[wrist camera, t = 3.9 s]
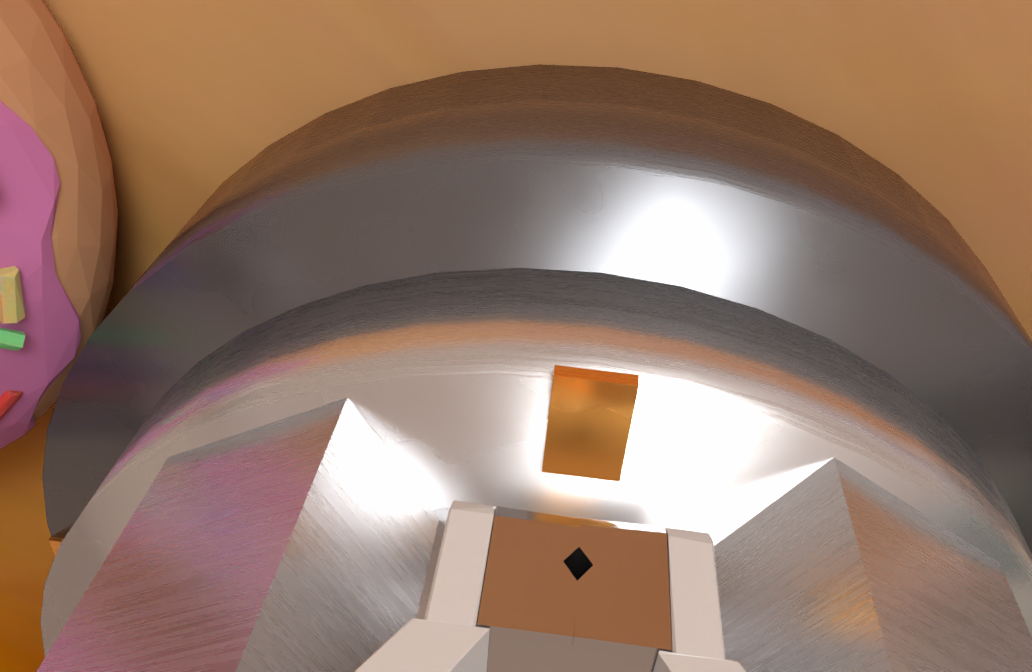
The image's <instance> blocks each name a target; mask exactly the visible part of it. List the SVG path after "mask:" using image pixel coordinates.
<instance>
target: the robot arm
mask: <svg viewBox="0 0 1032 672" xmlns="http://www.w3.org/2000/svg"><path fill="white" fill-rule="evenodd" d="M354 672H747V671H746V670H745V669H744V667H743V666H742V665H741V663H740V662H738V661H732V660H727V659H725V649H724V640H723V630H722V621H721V611H720V602H719V592H718V583H717V573H716V564H715V554H714V545H713V540H712V538H711V536H710V534H709V533H704V532H696V531H687V530H679V529H671V528H665V529H664V528H663V527H659V526H650V525H641V524H633V523H624V522H615V521H606V520H598V519H589V518H572V517H565V516H559V515H552V514H546V513H539V512H533V511H526V510H519V509H513V508H506V507H500V506H497V507H496V506H490V505H483V504H476V503H469V502H462V501H455V500H453V503H452V505H451V507H450V509H449V511H448V516H447V520H446V525H445V529H444V534H443V538H442V542H441V547H440V551H439V556H438V560H437V565H436V569H435V573H434V578H433V582H432V587H431V591H430V596H429V600H428V605H427V609H426V613H425V618H424V619H417V618H411V619H410V620H408V621H407V622H406V623H405V624H404V625H403V626H402V627H401V628H400V629H399V630H398V631H397V632H396V633H395V634H394V635H392V636H391V637H390V638H389V639H388V640H387V641H386V642H385V643H384V644H383V645H382V646H381V647H380V648H379V649H378V650H376V651H375V652H374V653H373V654H372V655H371V656H370V657H369V658H368V659H367V660H366V661H365V662H364V663H363V664H362V665H360V666H359V667H358V668H357V669H356V670H355V671H354Z"/></svg>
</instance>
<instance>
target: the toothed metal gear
mask: <svg viewBox="0 0 1032 672" xmlns="http://www.w3.org/2000/svg"><path fill="white" fill-rule="evenodd" d="M453 500H455V501H462V502H469V503H476V504H483V505H490V506H496V507H497V506H500V507H506V508H513V509H519V510H526V511H533V512H539V513H546V514H552V515H559V516H565V517H572V518H589V519H598V520H606V521H615V522H624V523H633V524H641V525H650V526H659V527H663V528H664V529H665V528H671V529H679V530H687V531H696V532H704V533H709V534H710V536H711V538H712V540H713V545H714V554H715V564H716V573H717V583H718V592H719V602H720V611H721V621H722V630H723V640H724V649H725V659H727V660H732V661H738V662H740V663H741V665H742V666H743V667H744V669H745V670H746V671H747V672H1032V554H1031V552H1030V550H1029V547H1028V545H1027V543H1026V541H1025V539H1024V537H1023V535H1022V533H1021V531H1020V528H1019V526H1018V524H1017V522H1016V520H1015V518H1014V516H1013V514H1012V512H1011V509H1010V507H1009V505H1008V503H1007V501H1006V500H1005V498H1004V497H1003V495H1002V493H1001V492H1000V490H999V488H998V487H997V485H996V483H995V482H994V480H993V479H992V477H991V475H990V474H989V472H988V470H987V469H986V467H985V465H984V464H983V462H982V461H981V459H980V458H979V457H978V456H977V454H976V453H975V452H974V451H973V450H972V449H971V448H970V447H969V446H968V444H967V443H966V442H965V441H964V440H963V439H962V438H961V437H960V436H959V434H958V433H957V432H956V431H955V430H954V429H953V428H952V427H951V426H950V424H949V423H948V422H947V421H946V420H945V419H944V418H943V417H942V416H941V415H940V414H939V413H938V412H936V411H935V410H934V409H933V408H931V407H930V406H929V405H928V404H926V403H925V402H924V401H923V400H921V399H920V398H919V397H918V396H916V395H915V394H914V393H913V392H911V391H910V390H909V389H908V388H906V387H905V386H904V385H903V384H901V383H900V382H899V381H898V380H896V379H895V378H894V377H893V376H891V375H890V374H888V373H887V372H885V371H883V370H881V369H880V368H878V367H876V366H875V365H873V364H871V363H870V362H868V361H866V360H864V359H863V358H861V357H859V356H858V355H856V354H854V353H853V352H851V351H849V350H847V349H846V348H844V347H842V346H841V345H839V344H837V343H836V342H834V341H832V340H830V339H828V338H826V337H824V336H821V335H819V334H817V333H814V332H812V331H810V330H807V329H805V328H803V327H800V326H798V325H796V324H793V323H791V322H789V321H786V320H784V319H781V318H779V317H777V316H774V315H772V314H770V313H767V312H765V311H763V310H760V309H758V308H754V307H751V306H747V305H744V304H740V303H737V302H733V301H730V300H727V299H723V298H720V297H716V296H713V295H709V294H706V293H703V292H699V291H696V290H692V289H689V288H685V287H682V286H676V285H670V284H665V283H659V282H653V281H647V280H641V279H635V278H629V277H624V276H618V275H612V274H606V273H600V272H583V271H566V270H548V269H531V268H505V269H487V270H469V271H451V272H437V273H432V274H426V275H420V276H414V277H409V278H403V279H397V280H391V281H386V282H380V283H374V284H368V285H364V286H361V287H357V288H354V289H351V290H348V291H344V292H341V293H338V294H335V295H332V296H328V297H325V298H322V299H319V300H315V301H312V302H309V303H306V304H302V305H299V306H297V307H295V308H293V309H291V310H289V311H286V312H284V313H282V314H280V315H278V316H276V317H274V318H271V319H269V320H267V321H265V322H263V323H261V324H259V325H257V326H254V327H252V328H250V329H248V330H246V331H244V332H242V333H240V334H239V335H237V336H236V337H234V338H233V339H232V340H230V341H229V342H227V343H226V344H224V345H223V346H221V347H220V348H218V349H217V350H215V351H214V352H212V353H211V354H209V355H208V356H206V357H205V358H203V359H202V360H200V361H199V362H197V363H196V364H195V365H194V366H193V367H192V368H191V369H190V370H189V371H188V372H187V373H186V374H185V375H184V376H183V377H181V378H180V379H179V380H178V381H177V382H176V383H175V384H174V385H173V386H172V387H171V388H170V389H169V390H168V391H167V392H166V393H165V394H164V395H163V396H162V397H161V398H160V399H159V400H158V402H157V403H156V405H155V406H154V408H153V409H152V410H151V412H150V413H149V415H148V416H147V418H146V419H145V421H144V422H143V423H142V425H141V426H140V428H139V429H138V431H137V432H136V433H135V435H134V436H133V438H132V439H131V441H130V442H129V444H128V445H127V447H126V448H125V450H124V451H123V453H122V454H121V456H120V457H119V458H118V460H117V461H116V463H115V464H114V466H113V467H112V469H111V470H110V472H109V473H108V475H107V476H106V478H105V479H104V481H103V482H102V483H101V485H100V486H99V488H98V489H97V491H96V492H95V494H94V495H93V497H92V498H91V500H90V501H89V503H88V504H87V506H86V507H85V509H84V510H83V511H82V513H81V514H80V516H79V517H78V519H77V520H76V522H75V523H74V525H73V526H72V528H71V529H70V531H69V532H68V534H67V535H66V536H65V538H64V539H63V541H62V542H61V544H60V545H59V548H58V551H57V553H56V556H55V558H54V561H53V564H52V566H51V569H50V571H49V574H48V577H47V579H46V582H45V587H44V595H43V604H42V613H41V621H40V622H41V630H42V638H43V646H44V654H45V658H44V660H43V662H42V663H41V665H40V667H39V668H38V670H37V671H36V672H354V671H355V670H356V669H357V668H358V667H359V666H360V665H362V664H363V663H364V662H365V661H366V660H367V659H368V658H369V657H370V656H371V655H372V654H373V653H374V652H375V651H376V650H378V649H379V648H380V647H381V646H382V645H383V644H384V643H385V642H386V641H387V640H388V639H389V638H390V637H391V636H392V635H394V634H395V633H396V632H397V631H398V630H399V629H400V628H401V627H402V626H403V625H404V624H405V623H406V622H407V621H408V620H410V619H411V618H417V619H424V618H425V613H426V609H427V605H428V600H429V596H430V591H431V587H432V582H433V578H434V573H435V569H436V565H437V560H438V556H439V551H440V547H441V542H442V538H443V534H444V529H445V525H446V520H447V516H448V511H449V509H450V507H451V505H452V503H453Z"/></svg>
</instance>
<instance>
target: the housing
mask: <svg viewBox="0 0 1032 672" xmlns="http://www.w3.org/2000/svg"><path fill="white" fill-rule="evenodd" d="M505 268H531V269H548V270H566V271H583V272H600V273H606V274H612V275H618V276H624V277H629V278H635V279H641V280H647V281H653V282H659V283H665V284H670V285H676V286H682V287H685V288H689V289H692V290H696V291H699V292H703V293H706V294H709V295H713V296H716V297H720V298H723V299H727V300H730V301H733V302H737V303H740V304H744V305H747V306H751V307H754V308H758V309H760V310H763V311H765V312H767V313H770V314H772V315H774V316H777V317H779V318H781V319H784V320H786V321H789V322H791V323H793V324H796V325H798V326H800V327H803V328H805V329H807V330H810V331H812V332H814V333H817V334H819V335H821V336H824V337H826V338H828V339H830V340H832V341H834V342H836V343H837V344H839V345H841V346H842V347H844V348H846V349H847V350H849V351H851V352H853V353H854V354H856V355H858V356H859V357H861V358H863V359H864V360H866V361H868V362H870V363H871V364H873V365H875V366H876V367H878V368H880V369H881V370H883V371H885V372H887V373H888V374H890V375H891V376H893V377H894V378H895V379H896V380H898V381H899V382H900V383H901V384H903V385H904V386H905V387H906V388H908V389H909V390H910V391H911V392H913V393H914V394H915V395H916V396H918V397H919V398H920V399H921V400H923V401H924V402H925V403H926V404H928V405H929V406H930V407H931V408H933V409H934V410H935V411H936V412H938V413H939V414H940V415H941V416H942V417H943V418H944V419H945V420H946V421H947V422H948V423H949V424H950V426H951V427H952V428H953V429H954V430H955V431H956V432H957V433H958V434H959V436H960V437H961V438H962V439H963V440H964V441H965V442H966V443H967V444H968V446H969V447H970V448H971V449H972V450H973V451H974V452H975V453H976V454H977V456H978V457H979V458H980V459H981V461H982V462H983V464H984V465H985V467H986V469H987V470H988V472H989V474H990V475H991V477H992V479H993V480H994V482H995V483H996V485H997V487H998V488H999V490H1000V492H1001V493H1002V495H1003V497H1004V498H1005V500H1006V501H1007V503H1008V505H1009V507H1010V509H1011V512H1012V514H1013V516H1014V518H1015V520H1016V522H1017V524H1018V526H1019V528H1020V531H1021V533H1022V535H1023V537H1024V539H1025V541H1026V543H1027V545H1028V547H1029V550H1030V552H1031V554H1032V341H1031V339H1030V338H1029V336H1028V334H1027V333H1026V331H1025V330H1024V328H1023V326H1022V325H1021V323H1020V322H1019V320H1018V319H1017V317H1016V315H1015V314H1014V312H1013V311H1012V309H1011V307H1010V306H1009V304H1008V303H1007V301H1006V300H1005V298H1004V296H1003V295H1002V293H1001V292H1000V290H999V288H998V287H997V285H996V284H995V282H994V281H993V279H992V277H991V276H990V274H989V273H988V271H987V269H986V268H985V266H984V265H983V264H982V263H981V261H980V260H979V259H978V258H977V256H976V255H975V254H974V252H973V251H972V250H971V249H970V247H969V246H968V245H967V244H966V242H965V241H964V240H963V238H962V237H961V236H960V235H959V233H958V232H957V231H956V230H955V228H954V227H953V226H952V224H951V223H950V222H949V221H948V219H947V218H946V217H944V216H943V215H942V214H941V213H940V212H939V211H938V210H937V209H936V208H935V207H933V206H932V205H931V204H930V203H929V202H928V201H927V200H926V199H925V198H923V197H922V196H921V195H920V194H919V193H918V192H917V191H916V190H915V189H914V188H912V187H911V186H910V185H909V184H908V183H907V182H906V181H905V180H904V179H903V178H901V177H900V176H899V175H898V174H897V173H895V172H893V171H892V170H890V169H889V168H887V167H886V166H884V165H883V164H881V163H880V162H878V161H877V160H875V159H874V158H872V157H871V156H869V155H868V154H866V153H865V152H863V151H862V150H860V149H859V148H857V147H855V146H854V145H852V144H851V143H849V142H848V141H846V140H845V139H843V138H842V137H840V136H839V135H836V134H834V133H832V132H830V131H828V130H826V129H824V128H821V127H819V126H817V125H815V124H813V123H811V122H809V121H806V120H804V119H802V118H800V117H798V116H796V115H794V114H791V113H789V112H787V111H785V110H783V109H781V108H779V107H776V106H774V105H772V104H769V103H766V102H763V101H760V100H756V99H753V98H750V97H747V96H744V95H740V94H737V93H734V92H731V91H727V90H724V89H721V88H718V87H714V86H711V85H708V84H705V83H701V82H698V81H694V80H688V79H682V78H676V77H670V76H664V75H658V74H652V73H646V72H641V71H635V70H629V69H623V68H612V67H586V66H559V65H531V66H520V67H509V68H499V69H488V70H477V71H466V72H460V73H455V74H451V75H447V76H442V77H438V78H434V79H429V80H425V81H421V82H416V83H412V84H408V85H403V86H399V87H395V88H390V89H388V90H385V91H382V92H380V93H377V94H375V95H372V96H369V97H367V98H364V99H362V100H359V101H356V102H354V103H351V104H349V105H346V106H344V107H341V108H338V109H336V110H333V111H331V112H328V113H325V114H324V115H322V116H320V117H318V118H317V119H315V120H313V121H311V122H310V123H308V124H306V125H304V126H302V127H301V128H299V129H297V130H295V131H294V132H292V133H290V134H288V135H287V136H285V137H283V138H281V139H280V140H278V141H276V142H274V143H273V144H271V145H269V146H268V147H267V148H265V149H264V150H263V151H262V152H260V153H259V154H258V155H257V156H255V157H254V158H253V159H252V160H250V161H249V162H248V163H247V164H245V165H244V166H243V167H242V168H240V169H239V170H238V171H237V172H235V173H234V174H233V175H232V176H230V177H229V178H228V179H227V180H225V181H224V182H223V183H222V184H221V185H220V187H219V188H218V189H217V190H216V191H215V192H214V193H213V194H212V196H211V197H210V198H209V199H208V200H207V201H206V202H205V203H204V205H203V206H202V207H201V208H200V209H199V210H198V211H197V212H196V214H195V215H194V216H193V217H192V218H191V219H190V220H189V221H188V223H187V224H186V225H185V226H184V227H183V228H182V230H181V231H180V232H179V233H178V234H177V235H176V237H175V238H174V239H173V240H172V241H171V242H170V244H169V245H168V246H167V247H166V248H165V249H164V251H163V252H162V253H161V254H160V255H159V256H158V258H157V259H156V260H155V261H154V262H153V264H152V265H151V266H150V267H149V268H148V269H147V271H146V272H145V273H144V274H143V275H142V276H141V278H140V279H139V280H138V281H137V282H136V283H135V285H134V286H133V287H132V288H131V289H130V290H129V292H128V293H127V294H126V295H125V296H124V297H123V299H122V300H121V301H120V302H119V303H118V304H117V306H116V307H115V308H114V309H113V310H112V311H111V313H110V314H109V315H108V316H107V317H106V318H105V320H104V321H103V322H102V323H101V324H100V325H99V327H98V328H97V329H96V330H95V331H94V332H93V334H92V335H91V336H90V337H89V339H88V340H87V342H86V344H85V346H84V347H83V349H82V351H81V352H80V354H79V356H78V358H77V359H76V361H75V363H74V365H73V366H72V368H71V370H70V371H69V373H68V375H67V377H66V378H65V380H64V382H63V384H62V386H61V389H60V392H59V395H58V399H57V402H56V405H55V408H54V411H53V414H52V417H51V420H50V423H49V426H48V430H47V436H46V446H45V456H44V466H43V476H42V478H43V487H44V497H45V507H46V516H47V523H48V527H49V530H50V533H51V537H50V539H49V543H50V546H51V548H52V551H53V553H54V556H56V553H57V551H58V548H59V545H60V544H61V542H62V541H63V539H64V538H65V536H66V535H67V534H68V532H69V531H70V529H71V528H72V526H73V525H74V523H75V522H76V520H77V519H78V517H79V516H80V514H81V513H82V511H83V510H84V509H85V507H86V506H87V504H88V503H89V501H90V500H91V498H92V497H93V495H94V494H95V492H96V491H97V489H98V488H99V486H100V485H101V483H102V482H103V481H104V479H105V478H106V476H107V475H108V473H109V472H110V470H111V469H112V467H113V466H114V464H115V463H116V461H117V460H118V458H119V457H120V456H121V454H122V453H123V451H124V450H125V448H126V447H127V445H128V444H129V442H130V441H131V439H132V438H133V436H134V435H135V433H136V432H137V431H138V429H139V428H140V426H141V425H142V423H143V422H144V421H145V419H146V418H147V416H148V415H149V413H150V412H151V410H152V409H153V408H154V406H155V405H156V403H157V402H158V400H159V399H160V398H161V397H162V396H163V395H164V394H165V393H166V392H167V391H168V390H169V389H170V388H171V387H172V386H173V385H174V384H175V383H176V382H177V381H178V380H179V379H180V378H181V377H183V376H184V375H185V374H186V373H187V372H188V371H189V370H190V369H191V368H192V367H193V366H194V365H195V364H196V363H197V362H199V361H200V360H202V359H203V358H205V357H206V356H208V355H209V354H211V353H212V352H214V351H215V350H217V349H218V348H220V347H221V346H223V345H224V344H226V343H227V342H229V341H230V340H232V339H233V338H234V337H236V336H237V335H239V334H240V333H242V332H244V331H246V330H248V329H250V328H252V327H254V326H257V325H259V324H261V323H263V322H265V321H267V320H269V319H271V318H274V317H276V316H278V315H280V314H282V313H284V312H286V311H289V310H291V309H293V308H295V307H297V306H299V305H302V304H306V303H309V302H312V301H315V300H319V299H322V298H325V297H328V296H332V295H335V294H338V293H341V292H344V291H348V290H351V289H354V288H357V287H361V286H364V285H368V284H374V283H380V282H386V281H391V280H397V279H403V278H409V277H414V276H420V275H426V274H432V273H437V272H451V271H469V270H487V269H505Z"/></svg>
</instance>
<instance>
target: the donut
mask: <svg viewBox="0 0 1032 672" xmlns="http://www.w3.org/2000/svg"><path fill="white" fill-rule="evenodd" d="M117 221H118V209H117V201H116V193H115V184H114V176H113V168H112V160H111V156H110V153H109V149H108V146H107V142H106V139H105V135H104V132H103V128H102V125H101V121H100V117H99V114H98V110H97V107H96V103H95V101H94V99H93V97H92V94H91V92H90V90H89V88H88V85H87V83H86V81H85V79H84V77H83V74H82V72H81V70H80V68H79V66H78V63H77V61H76V59H75V57H74V55H73V52H72V50H71V48H70V46H69V43H68V41H67V39H66V37H65V35H64V33H63V32H62V30H61V29H60V27H59V25H58V24H57V22H56V21H55V19H54V18H53V16H52V14H51V13H50V11H49V10H48V8H47V6H46V5H45V3H44V2H43V0H0V449H1V448H3V447H5V446H6V445H8V444H10V443H11V442H13V441H15V440H17V439H18V438H20V437H22V436H23V435H25V434H26V433H27V432H28V431H29V430H30V429H32V428H33V427H34V426H35V425H36V423H35V421H36V420H37V419H38V418H40V417H41V416H42V415H43V414H45V412H46V411H47V410H48V409H49V408H50V407H51V406H52V405H53V404H54V403H55V402H56V401H57V399H58V395H59V392H60V389H61V386H62V384H63V382H64V380H65V378H66V377H67V375H68V373H69V371H70V370H71V368H72V366H73V365H74V363H75V361H76V359H77V358H78V356H79V354H80V352H81V351H82V349H83V347H84V346H85V344H86V342H87V340H88V339H89V337H90V336H91V335H92V334H93V332H94V331H95V330H96V329H97V328H98V327H99V325H100V324H101V323H102V322H103V319H104V315H105V312H106V308H107V305H108V301H109V298H110V294H111V291H112V287H113V283H114V269H115V253H116V237H117Z"/></svg>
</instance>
